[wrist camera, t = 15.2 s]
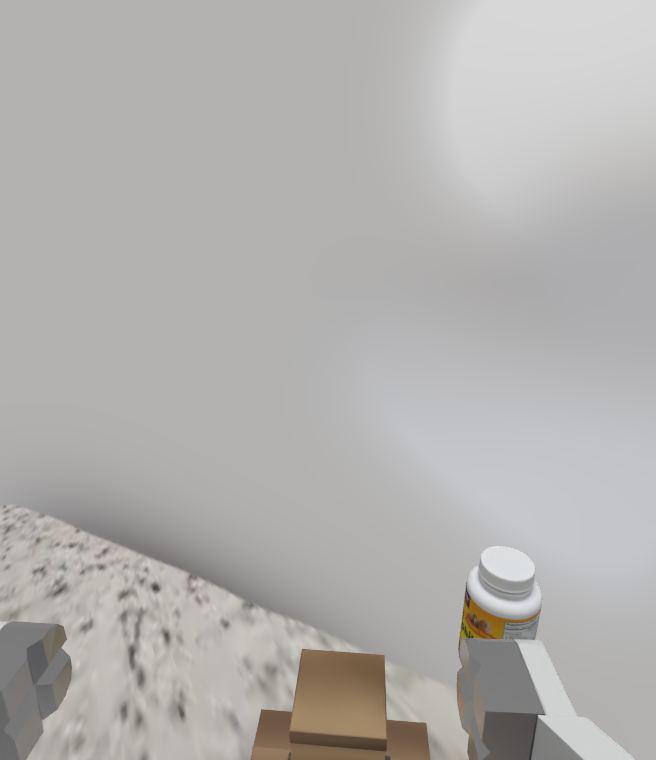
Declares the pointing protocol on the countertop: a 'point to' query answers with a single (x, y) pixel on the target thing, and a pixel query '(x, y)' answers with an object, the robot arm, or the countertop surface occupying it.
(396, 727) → the wooden square frame
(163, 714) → the countertop surface
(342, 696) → the peg
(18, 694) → the robot arm
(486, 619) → the supplement bottle
